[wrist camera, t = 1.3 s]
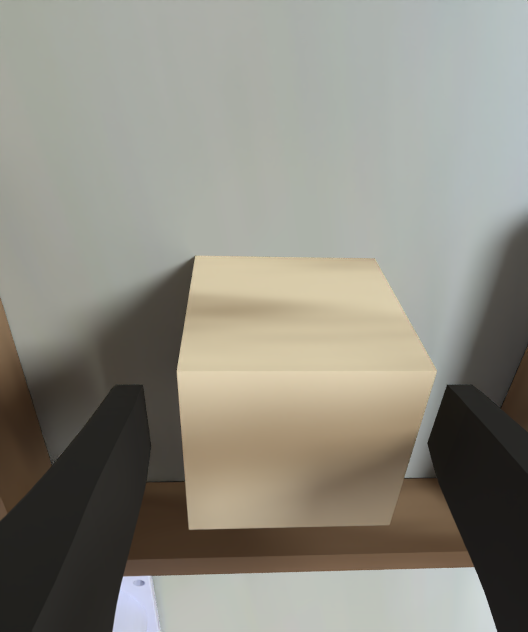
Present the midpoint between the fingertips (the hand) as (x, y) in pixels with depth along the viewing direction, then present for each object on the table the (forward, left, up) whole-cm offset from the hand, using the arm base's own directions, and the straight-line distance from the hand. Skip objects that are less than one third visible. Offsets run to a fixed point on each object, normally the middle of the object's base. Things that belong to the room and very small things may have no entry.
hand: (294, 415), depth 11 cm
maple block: (0, 0, -4) cm, 4 cm away
